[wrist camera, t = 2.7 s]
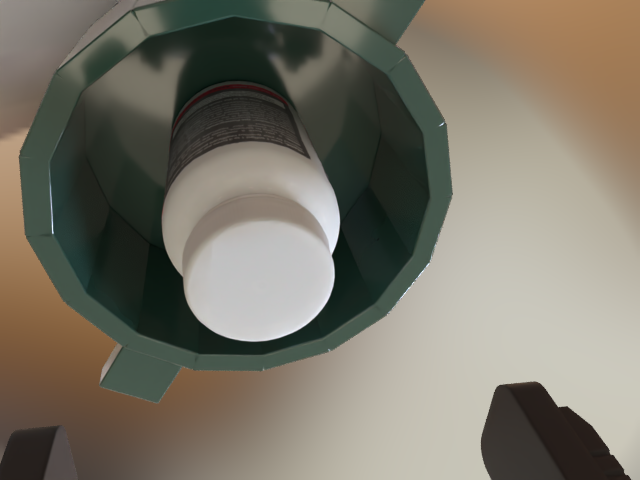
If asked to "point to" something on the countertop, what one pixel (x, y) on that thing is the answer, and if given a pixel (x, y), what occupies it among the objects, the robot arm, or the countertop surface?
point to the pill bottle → (248, 213)
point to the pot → (152, 161)
